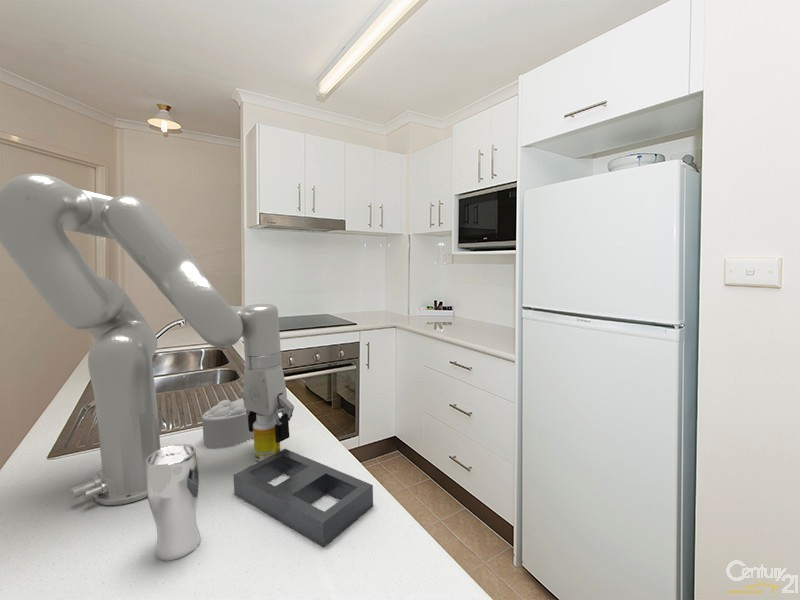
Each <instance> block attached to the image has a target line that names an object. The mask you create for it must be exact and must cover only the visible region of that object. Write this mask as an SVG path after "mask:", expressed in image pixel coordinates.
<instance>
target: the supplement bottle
mask: <svg viewBox="0 0 800 600" xmlns="http://www.w3.org/2000/svg"><path fill="white" fill-rule="evenodd" d="M276 424H277V423H276V421H275V419H274V417H273V416H272V415H271V416H264V415H261V414H258V413H257V414H256V421H255V422H254V424H253V436H254V438H253V448H254V450H253V451H254V452H253V453H254V459H255V460H256V461H257V462H260V461H262V460H264V459H266V458H268V457H270V456H272V455H274V454H276V453H278V452H280V451H281V442H279V443H278V442H276V437H275V425H276Z"/></svg>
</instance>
